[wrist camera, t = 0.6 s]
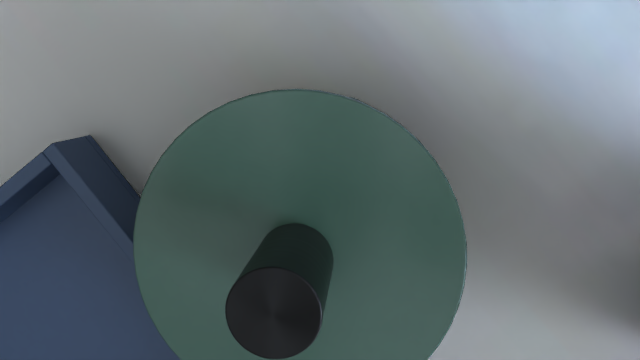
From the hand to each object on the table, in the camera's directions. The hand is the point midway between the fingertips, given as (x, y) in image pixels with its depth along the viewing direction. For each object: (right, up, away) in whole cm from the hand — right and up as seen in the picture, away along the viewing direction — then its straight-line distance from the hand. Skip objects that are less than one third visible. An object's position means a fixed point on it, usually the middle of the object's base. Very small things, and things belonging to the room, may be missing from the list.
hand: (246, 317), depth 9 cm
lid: (0, 0, +10) cm, 10 cm away
